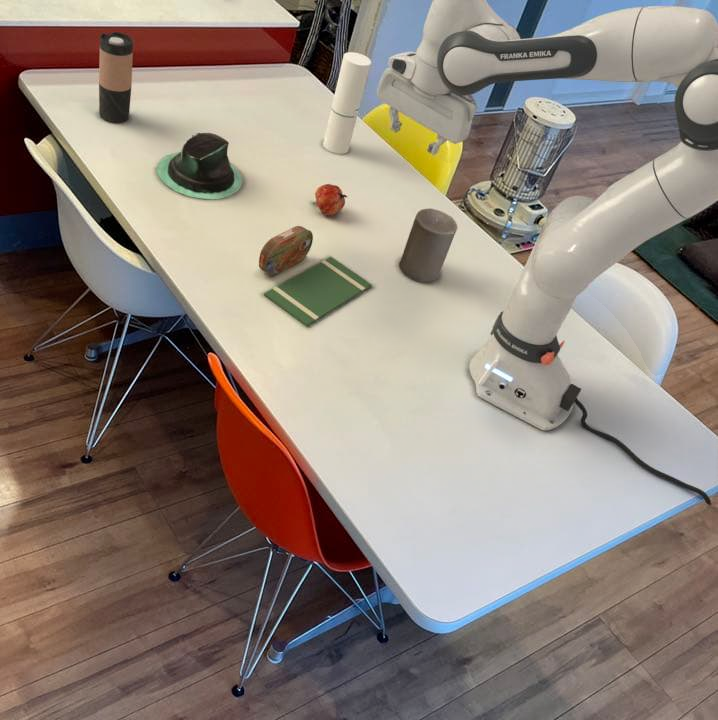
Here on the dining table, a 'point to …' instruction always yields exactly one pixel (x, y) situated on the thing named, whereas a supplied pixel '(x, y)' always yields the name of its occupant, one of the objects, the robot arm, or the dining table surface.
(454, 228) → the pillar candle
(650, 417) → the dining table surface
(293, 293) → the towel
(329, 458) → the dining table surface
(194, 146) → the hat
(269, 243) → the tin
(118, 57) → the travel mug
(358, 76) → the cylindrical container
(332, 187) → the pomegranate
